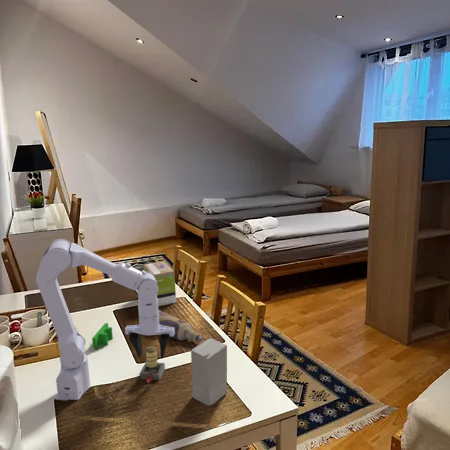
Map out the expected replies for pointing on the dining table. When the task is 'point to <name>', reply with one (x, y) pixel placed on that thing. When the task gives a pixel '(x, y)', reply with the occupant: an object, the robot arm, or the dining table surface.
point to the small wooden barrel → (151, 356)
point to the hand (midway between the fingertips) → (151, 355)
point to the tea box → (163, 282)
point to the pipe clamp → (102, 336)
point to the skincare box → (209, 371)
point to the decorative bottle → (179, 328)
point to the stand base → (151, 375)
